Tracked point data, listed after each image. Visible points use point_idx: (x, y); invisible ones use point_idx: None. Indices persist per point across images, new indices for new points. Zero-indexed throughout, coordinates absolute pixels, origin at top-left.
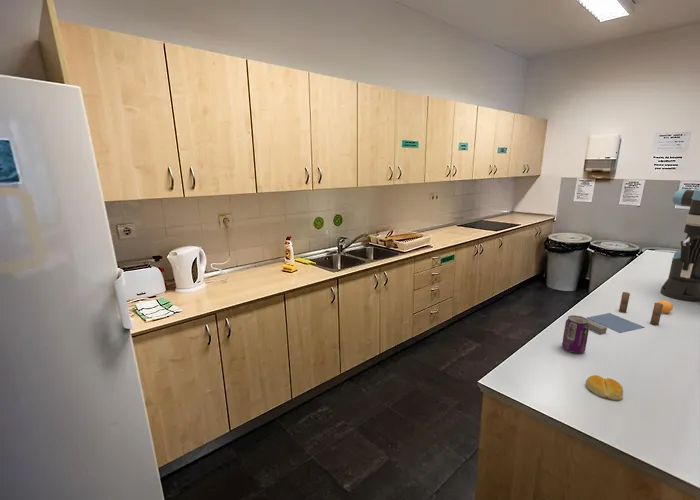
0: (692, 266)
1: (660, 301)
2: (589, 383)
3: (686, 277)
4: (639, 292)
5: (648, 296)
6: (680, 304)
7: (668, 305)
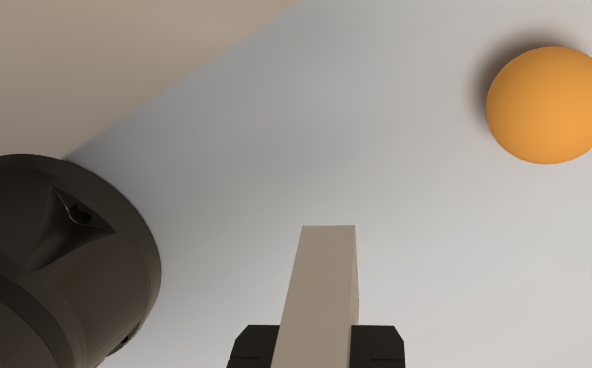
0: (278, 364)
1: (585, 146)
2: None
3: (354, 242)
4: None
5: None
6: (217, 154)
7: (589, 73)
